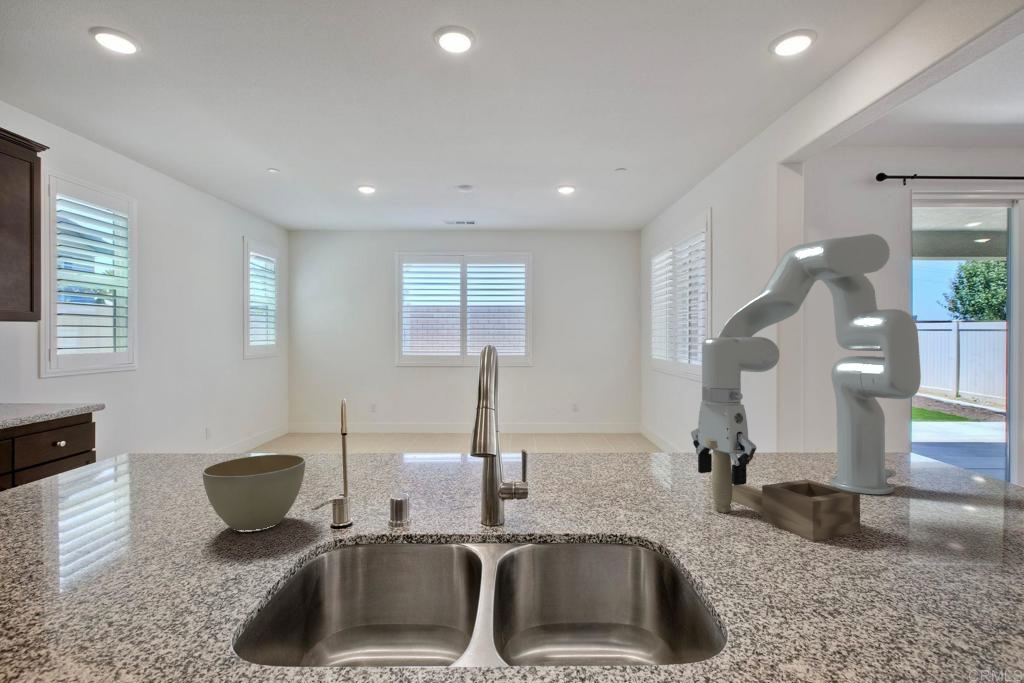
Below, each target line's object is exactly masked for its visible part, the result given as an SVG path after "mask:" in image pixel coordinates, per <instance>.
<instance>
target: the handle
mask: <svg viewBox="0 0 1024 683" xmlns="http://www.w3.org/2000/svg"><path fill="white" fill-rule="evenodd" d="M705 443H706V445H707V446H708V447H710V448H712V449H713V450H712V449H711V450H712V476H711V491H712V499H713V510H715V511H716V512H717V513H723V514H726V513H730V512H731V511H732V505H731V504H732V502H733V501H732V492H733V491H732V490H733V488H732V487H733V484H732V458H731V456H730V454H727V453H723V452H719V451H716V450H714V449H716V448H718V446H717V441H713V440H709V439H706V438H705Z"/></svg>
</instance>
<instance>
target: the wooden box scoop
mask: <svg viewBox="0 0 1024 683" xmlns="http://www.w3.org/2000/svg"><path fill="white" fill-rule="evenodd" d="M732 485H733V484H732ZM761 487H762V488H761V489H758V488H757V487H756V488H755V487H752V486H749V485H747V484H741V485H733V487H732V488H733V490H732V491H733V492H732V502H735V503H738V504H740V503H741V504H740V505H742V504H743V506H745V507H747V506H748V508H750V509H752V510H755V509H756V510H755V511H758V512H761V513H762V514H761V515H762V517H761V518H762V520H761V522H764V521H765V522H764V523H767V522H768V523H767V524H769V523H770V524H769V525H771V524H772V526H774V525H775V526H774V527H776V526H777V528H779V529H780V530H781V529H782V530H784V531H787V532H789V533H790V534H793V535H796V536H799V537H801V538H804V539H806V540H809V541H811V542H816V541H817V540H818V541H823V540H827V539H832V537H833V538H836V537H842V535H843V536H848V535H853V534H858V533H861V493H857V492H851V491H847V490H843V489H839V488H837V487H834V486H833V485H828V484H825V483H822V482H818V481H814V480H811V479H801V480H792V481H785V482H777V483H770V484H763V485H761Z"/></svg>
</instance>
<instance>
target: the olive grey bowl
mask: <svg viewBox="0 0 1024 683" xmlns="http://www.w3.org/2000/svg"><path fill="white" fill-rule="evenodd" d="M305 469H306V458H305V457H303V456H302V455H301V456H300V455H296V454H284V453H283V454H282V453H281V454H280V453H279V454H277V453H276V454H263V455H252V456H245V457H239V458H232V459H229V460H225V461H224V460H223V461H221V462H217V463H213V464H211V465H209V466H206V467H205V468H203V470H202V481H203V486H204V489H205V493H206V495H207V498H208V501H209V502H210V505H211V507H212V508H213V510H214V512H215V513H216V514H217V515H218V517H219V518H220V519H221V520H222V521H223V522H224V524H226V525H227V526H228V527H229V528H230V529H231V528H232V529H231V530H233V529H235V530H244V531H245V530H256V529H263V528H267V527H270V526H273V525H276V524H278V523H279V522H280V523H281V522H282V521H283V519H284V518H285V517H286V515H287V514H288V512H289V511H290V510H291V508H292V507H293V506H294V503H295V501H296V500H297V497H298V495H299V493H300V489H301V487H302V484H303V479H304V475H305ZM280 523H279V524H280ZM279 524H278V525H279ZM276 526H277V525H276Z"/></svg>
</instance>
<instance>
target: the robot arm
mask: <svg viewBox="0 0 1024 683" xmlns="http://www.w3.org/2000/svg"><path fill="white" fill-rule="evenodd" d="M890 252H891V249H890V246H889V243H888V242H887V240H886V239H885V238H884V237H882V236H881V235H879V234H875V233H867V234H859V235H853V236H845V237H844V236H843V237H835V238H834V237H833V238H829V239H823V240H818V241H812V242H808V243H801V244H798V245H796V246H793V247H790V248H789V249H787V250H786V251H785V253H783V255H782V257H781V259H780V260H779V262H778V264H777V265H776V267H775V268H774V270H773V272H772V273H771V275H770V277H769V279H768V280H767V282H766V284H765V285H764V287H763V289H762V290H761V292H760V293H759V294H758V295H757V296H756V297H754V298H753V299H751V300H750V301H749V302H747V303H746V304H745V305H744V306H743V307H740V309H739V310H737V311H736V312H735V313H734V314H732V316H731V317H730V318H728V319H727V321H725V323H724V325H723V326H722V328H720V331H719V332H718V335H717V336H716V337H709V338H706V339H704V340H703V341H702V344H701V401H700V406H699V414H698V422H697V423H698V424H697V428H696V429H694V430H692V431H691V432H690V435H691V438H692V441H693V442H692V444H693V445H694V447H695V453H696V454H697V471H698V473H699V474H708V473H711V472H713V454H712V453H710V452H711V451H713V449H712V448H710V447H708V446H707V445H706V443H705V438H706V439H709V440H713V441H717V446H718V448H716V449H714V450H716V451H719V452H723V453H727V454H730V456H731V461H732V462H733V464H731V471H732V485H741V484H744V485H747V465H749V464H750V462H751V461H752V460H753V458H754V455H755V452H756V450H757V446H756V444H755V443H753V442H752V440H750V439H749V429H748V420H747V414H746V413H747V412H746V409H745V405H744V404H742V399H743V393H741V392H742V389H741V387H742V386H741V385H742V380H741V378H742V376H741V375H742V374H741V373H742V372H746V373H764V372H767V371H768V372H769V370H771V369H773V368H774V367H776V365H777V364H778V362H779V360H780V357H781V356H780V349H779V347H778V345H777V344H776V343H775V342H774V341H773V340H771V339H769V338H767V337H762V336H754V335H756V334H757V333H758V332H760V331H762V330H763V329H765V328H767V327H770V326H772V325H775V324H778V323H780V322H782V321H784V320H787V319H789V318H790V317H792V316H794V315H796V314H797V313H798V311H799V310H800V309H801V307H802V304H803V303H804V301H805V300H806V297H807V296H808V294H809V293H810V291H811V288H812V287H813V286H814V284H815V283H816V282H817V281H821V282H823V283H824V284H825V286H826V287H827V288H828V289H829V291H830V293H831V296H832V302H833V303H832V304H833V316H834V318H833V319H834V326H835V327H834V328H835V329H834V332H835V337H836V338H835V339H836V341H837V344H838V345H839V346H840V347H841V348H842V349H845V350H848V351H855V352H856V351H857V352H858V351H862V352H882V353H883V356H874V355H873V356H872V355H871V356H870V355H868V356H867V355H852V356H851V355H850V356H846V357H843V358H841V359H839V360H837V361H835V363H834V364H833V366H832V368H831V374H830V377H831V383H832V386H833V387H832V388H833V390H834V395H835V396H834V397H835V401H836V402H835V403H836V404H835V405H836V406H835V407H836V468H837V471H836V474H837V475H836V476H832V477H830V478H829V483H830V486H832V487H836V488H839V489H843V490H847V491H850V492H854V493H857V494H865V495H889V494H892V493H893V492H894V491H895V490H894V488H895V487H894V485H893V484H891V483H889V482H888V480H887V479H890V478H895V477H896V475H897V472H896V470H895V469H893V468H889V469H887V468H886V437H885V436H886V435H885V434H886V428H885V427H886V422H885V421H886V418H885V412H884V410H883V408H882V406H881V405H880V403H879V401H878V400H877V399H876V398H881V399H891V400H908V399H911V398H913V397H914V396H916V394H917V393H918V391H919V390H920V387H921V379H922V377H921V376H922V375H921V374H922V373H921V358H920V356H921V355H920V344H919V341H920V340H919V333H918V327H917V324H916V321H915V320H914V317H912V315H911V314H910V313H908V312H907V311H905V310H902V309H895V308H892V309H890V308H889V309H878V306H877V300H876V299H877V298H876V291H875V287H874V285H873V283H872V282H871V280H870V279H869V278H868V277H867V276H866V275H865V274H871V273H875V272H878V271H880V270H882V269H883V268H884V267H885V265H886V264H887V263H888V262H889V259H890Z"/></svg>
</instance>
